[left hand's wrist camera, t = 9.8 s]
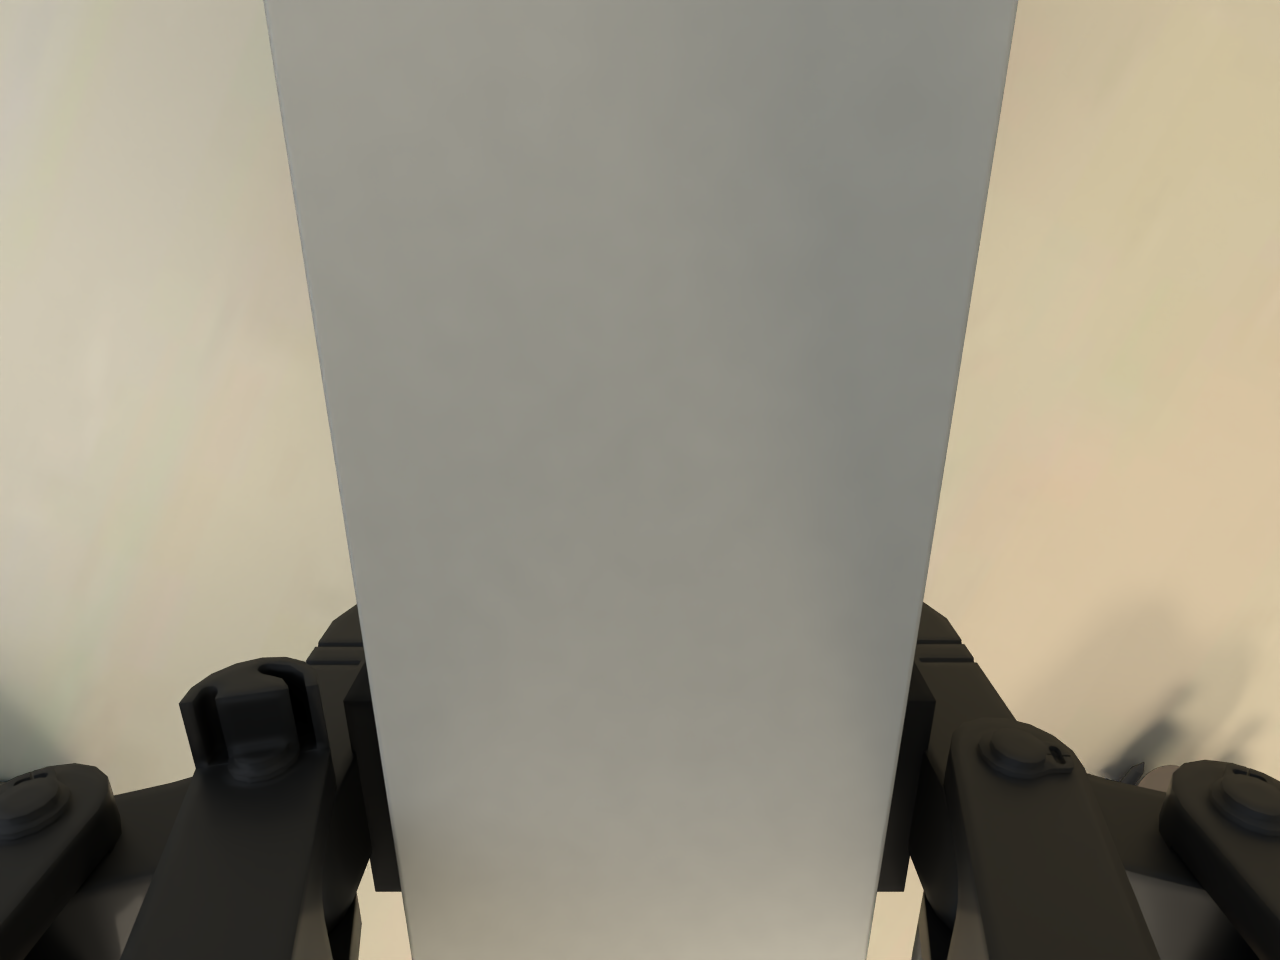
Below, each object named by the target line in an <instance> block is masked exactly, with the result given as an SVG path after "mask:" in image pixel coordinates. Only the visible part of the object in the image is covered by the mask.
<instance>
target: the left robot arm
mask: <svg viewBox="0 0 1280 960" xmlns="http://www.w3.org/2000/svg"><path fill="white" fill-rule="evenodd" d="M179 706H180V710H181V714H182V718H183V721H184V725H185V729H186V733H187V737H188V740H189V744H190V748H191V752H192V756H193V759H194V763H195V767H196V770H195V772H194V775H193V777H190V778H187V779H183V780H180V781H176V782H173V783H169V784H164V785H160V786H155V787H151V788H146V789H142V790H137V791H133V792H128V793H124V794H119V795H115V796H114V795H113V792H112V789H111V786H110V783H109V779H108V776H106V775H105V774H104V773H103V772H102V771H100V770H99V769H98V768H97V767H95V766H89V765H83V764H76V763H73V764H65V765H57V766H49V767H45V768H42V769H39V770H35V771H33V772H28V773H26V774H23V775H20V776H17V777H15V778H13V779H11V780H9V781H8V782H0V960H358V957H359V946H360V936H361V926H362V922H361V916H360V909H359V903H358V898H357V889H358V886H359V884H360V881H361V879H362V876H363V874H364V871H365V869H366V866H367V863H368V861H369V858H370V862H371V868H372V874H373V880H374V886H375V891H376V892H402V891H401V884H400V878H399V871H398V865H397V858H396V852H395V845H394V839H393V833H392V826H391V820H390V813H389V807H388V800H387V794H386V787H385V781H384V774H383V768H382V762H381V755H380V749H379V742H378V736H377V729H376V723H375V716H374V710H373V704H372V697H371V691H370V684H369V678H368V671H367V665H366V658H365V652H364V645H363V639H362V633H361V626H360V620H359V613H358V607H357V604H356V605H355V606H354V607H352V608H351V609H349V610H348V611H346V612H345V613H344V614H342V615H341V616H339V617H338V618H336V619H335V620H334V621H333V622H332V623H331V625H330V626H329V628H328V629H327V631H326V632H325V633H324V635H323V636H322V638H321V639H320V641H319V642H318V647H315V648H314V650H313V651H312V653H311V654H310V656H309V657H308V659H307V660H306V662H304V661H300V660H296V659H292V658H288V657H268V658H259V659H254V660H250V661H245V662H241V663H236V664H234V665H232V666H229V667H227V668H225V669H222V670H220V671H217V672H215V673H213V674H211V675H209V676H208V677H206V678H205V679H204V680H202V681H201V682H199V683H198V684H196V685H195V686H193V687H192V688H191V689H190V690H189V691H188V693H187V694H186V695H185V696H184V698H183V699H182V700H181V701H180V703H179ZM910 856H911V859H912V861H913V864H914V866H915V869H916V871H917V874H918V876H919V879H920V882H921V884H922V887H923V889H924V892H923V898H922V903H921V909H920V914H919V920H918V925H917V931H916V936H915V941H914V947H913V952H912V959H911V960H1280V781H1278V780H1276V779H1274V778H1272V777H1270V776H1268V775H1266V774H1264V773H1262V772H1259V771H1256V770H1253V769H1251V768H1250V769H1249V768H1246V767H1244V766H1240V765H1237V764H1234V763H1227V762H1219V761H1211V760H1201V761H1195V762H1189V763H1184V764H1183V765H1182V766H1181V767H1179V768H1178V769H1177V770H1176V771H1175V772H1173V774H1172V777H1171V780H1170V783H1169V786H1168V789H1167V792H1162V791H1158V790H1153V789H1149V788H1144V787H1139V786H1135V785H1130V784H1126V783H1121V782H1117V781H1112V780H1108V779H1104V778H1101V777H1097V776H1094V775H1090V774H1087V773H1086V771H1085V768H1084V767H1083V765H1082V764H1081V762H1080V761H1079V759H1078V758H1077V756H1076V755H1075V753H1074V752H1073V751H1072V750H1071V749H1070V748H1068V747H1067V746H1066V745H1065V744H1063V743H1062V742H1061V741H1060V740H1058V739H1057V738H1056V737H1054V736H1053V735H1051V734H1049V733H1047V732H1045V731H1043V730H1041V729H1038V728H1036V727H1034V726H1032V725H1030V724H1026V723H1023V722H1019V721H1016V719H1015V718H1014V716H1013V715H1012V713H1011V712H1010V710H1009V709H1008V708H1007V706H1006V705H1005V703H1004V702H1003V700H1002V699H1001V697H1000V696H999V694H998V693H997V691H996V690H995V688H994V687H993V686H992V684H991V683H990V681H989V680H988V678H987V677H986V675H985V674H984V672H983V671H982V669H981V668H980V666H979V665H978V664H977V663H974V658H973V656H972V655H971V653H970V652H969V650H968V649H967V647H966V646H965V644H962V643H961V639H960V637H959V636H958V634H957V633H956V631H955V630H954V628H953V627H952V625H951V624H950V622H949V621H948V620H947V618H945V617H944V616H943V615H941V614H940V613H938V612H937V611H935V610H934V609H933V608H931V607H930V606H928V605H927V604H925V603H924V602H923V604H922V611H921V617H920V623H919V630H918V636H917V642H916V649H915V655H914V661H913V668H912V674H911V680H910V687H909V693H908V699H907V706H906V712H905V718H904V724H903V731H902V737H901V743H900V750H899V756H898V762H897V769H896V775H895V781H894V788H893V794H892V800H891V807H890V813H889V819H888V826H887V832H886V838H885V844H884V851H883V857H882V863H881V870H880V876H879V882H878V889H877V892H904V888H905V882H906V876H907V870H908V864H909V858H910Z"/></svg>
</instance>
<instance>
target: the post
mask: <svg viewBox="0 0 1280 960" xmlns="http://www.w3.org/2000/svg"><path fill="white" fill-rule="evenodd" d="M1017 5H1018V0H264V7H265V13H266V20H267V26H268V33H269V39H270V46H271V52H272V59H273V65H274V71H275V78H276V84H277V91H278V97H279V104H280V110H281V117H282V123H283V129H284V136H285V142H286V149H287V155H288V162H289V168H290V175H291V181H292V188H293V194H294V200H295V207H296V213H297V220H298V226H299V233H300V239H301V246H302V252H303V258H304V265H305V271H306V278H307V284H308V291H309V297H310V304H311V310H312V317H313V323H314V329H315V336H316V342H317V349H318V355H319V362H320V368H321V375H322V381H323V387H324V394H325V400H326V407H327V413H328V420H329V426H330V433H331V439H332V446H333V452H334V458H335V465H336V471H337V478H338V484H339V491H340V497H341V504H342V510H343V516H344V523H345V529H346V536H347V542H348V549H349V555H350V562H351V568H352V575H353V581H354V587H355V594H356V600H357V607H358V613H359V620H360V626H361V633H362V639H363V645H364V652H365V658H366V665H367V671H368V678H369V684H370V691H371V697H372V704H373V710H374V716H375V723H376V729H377V736H378V742H379V749H380V755H381V762H382V768H383V774H384V781H385V787H386V794H387V800H388V807H389V813H390V820H391V826H392V833H393V839H394V845H395V852H396V858H397V865H398V871H399V878H400V884H401V891H402V897H403V903H404V910H405V916H406V923H407V929H408V936H409V942H410V949H411V955H412V960H866V958H867V952H868V946H869V939H870V933H871V927H872V920H873V914H874V908H875V901H876V895H877V889H878V882H879V876H880V870H881V863H882V857H883V851H884V844H885V838H886V832H887V826H888V819H889V813H890V807H891V800H892V794H893V788H894V781H895V775H896V769H897V762H898V756H899V750H900V743H901V737H902V731H903V724H904V718H905V712H906V706H907V699H908V693H909V687H910V680H911V674H912V668H913V661H914V655H915V649H916V642H917V636H918V630H919V623H920V617H921V611H922V604H923V598H924V592H925V586H926V579H927V573H928V567H929V560H930V554H931V548H932V541H933V535H934V529H935V522H936V516H937V510H938V503H939V497H940V491H941V485H942V478H943V472H944V466H945V459H946V453H947V447H948V440H949V434H950V428H951V421H952V415H953V409H954V402H955V396H956V390H957V383H958V377H959V371H960V365H961V358H962V352H963V346H964V339H965V333H966V327H967V320H968V314H969V308H970V301H971V295H972V289H973V282H974V276H975V270H976V263H977V257H978V251H979V245H980V238H981V232H982V226H983V219H984V213H985V207H986V200H987V194H988V188H989V181H990V175H991V169H992V162H993V156H994V150H995V143H996V137H997V131H998V125H999V118H1000V112H1001V106H1002V99H1003V93H1004V87H1005V80H1006V74H1007V68H1008V61H1009V55H1010V49H1011V42H1012V36H1013V30H1014V23H1015V17H1016V11H1017Z"/></svg>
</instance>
